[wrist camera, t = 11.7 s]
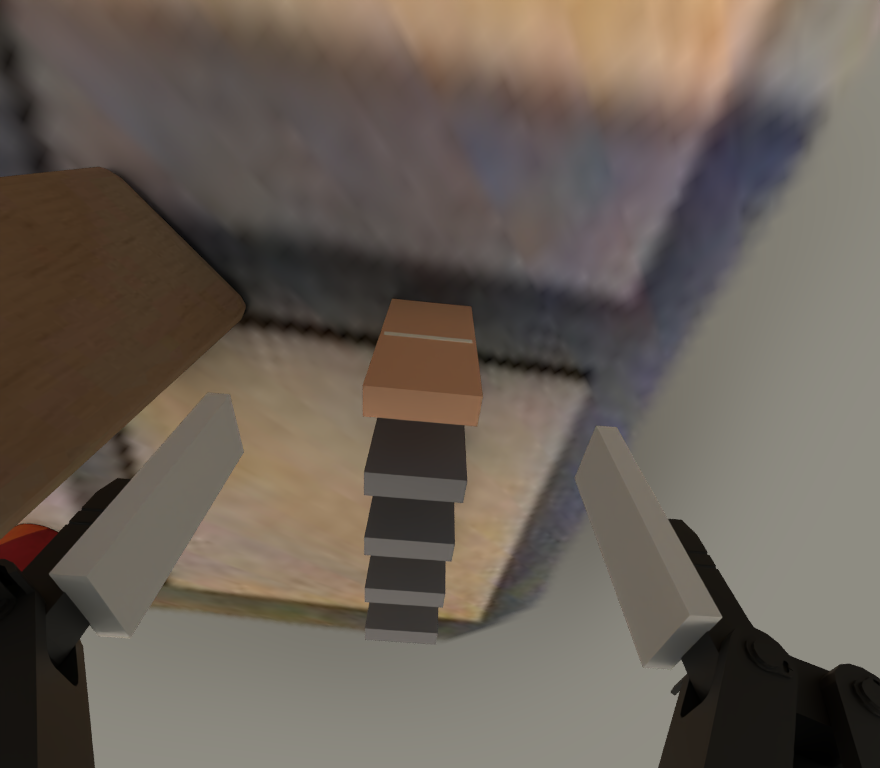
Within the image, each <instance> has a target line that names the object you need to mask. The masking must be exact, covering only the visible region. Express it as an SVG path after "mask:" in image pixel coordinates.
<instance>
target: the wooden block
mask: <svg viewBox="0 0 880 768" xmlns="http://www.w3.org/2000/svg"><path fill="white" fill-rule="evenodd" d="M245 308H246V304H245V303H244V301H243V299H242V297H241V296H240V295H239V294H238V293H237V292H236V291H235V290H234V289H233V288H232V287H231V286H230V285H229V284H228V283H227V282H226V281H225V280H224V279H223V278H222V277H221V276H220V275H219V274H218V273H217V272H216V271H215V270H214V269H213V268H212V267H211V266H210V265H209V264H208V263H207V262H206V261H205V260H204V259H203V258H202V257H201V256H200V255H199V254H198V253H197V252H196V251H195V250H194V249H193V248H192V247H191V246H190V245H189V244H188V243H187V242H186V241H185V240H184V239H183V238H182V237H181V236H180V235H179V234H178V233H177V232H175V231H174V230H173V229H172V228H171V227H170V226H169V225H168V224H167V223H166V222H165V221H164V220H163V219H162V218H161V217H160V216H159V215H158V214H157V213H156V212H155V211H154V210H153V209H152V208H151V207H150V206H149V205H148V204H147V203H146V202H145V201H144V200H143V199H142V198H141V197H140V196H139V195H138V194H137V193H136V192H135V191H134V190H133V189H132V188H131V187H130V186H129V185H128V184H127V183H126V182H125V181H124V180H123V179H122V178H121V177H119V176H117V175H116V174H114V173H113V172H111V171H109V170H107V169H104V168H101V167H92V168H82V169H73V170H63V171H54V172H45V173H35V174H26V175H16V176H7V177H0V540H1V539H2V538H3V537H4V536H5V535H6V534H7V533H8V532H9V531H10V530H12V529H13V528H14V527H15V526H16V525H17V524H18V523H19V522H20V521H21V520H22V519H24V518H25V517H26V516H27V515H28V514H29V513H30V512H31V511H32V510H33V509H35V508H36V507H37V506H38V505H39V504H40V503H41V502H42V501H43V500H44V499H45V498H47V497H48V496H49V495H50V494H51V493H52V492H53V491H54V490H55V489H56V488H57V487H59V486H60V485H61V484H62V483H63V482H64V481H65V480H66V479H67V478H68V477H70V476H71V475H72V474H73V473H74V472H75V471H76V470H77V469H78V468H79V467H80V466H82V465H83V464H84V463H85V462H86V461H87V460H88V459H89V458H90V457H91V456H92V455H94V454H95V453H96V452H97V451H98V450H99V449H100V448H101V447H102V446H103V445H105V444H106V443H107V442H108V441H109V440H110V439H111V438H112V437H113V436H114V435H115V434H117V433H118V432H119V431H120V430H121V429H122V428H123V427H124V426H125V425H126V424H127V423H129V422H130V421H131V420H132V419H133V418H134V417H135V416H136V415H137V414H138V413H139V412H141V411H142V410H143V409H144V408H145V407H146V406H147V405H148V404H149V403H150V402H152V401H153V400H154V399H155V398H156V397H157V396H158V395H159V394H160V393H161V392H162V391H164V390H165V389H166V388H167V387H168V386H169V385H170V384H171V383H172V382H173V381H174V380H176V379H177V378H178V377H179V376H180V375H181V374H182V373H183V372H184V371H185V370H187V369H188V368H189V367H190V366H191V365H192V364H193V363H194V362H195V361H196V360H197V359H199V358H200V357H201V356H202V355H203V354H204V353H205V352H206V351H207V350H208V349H209V348H211V347H212V346H213V345H214V344H215V343H216V342H217V341H218V340H219V339H220V338H222V337H223V336H224V335H225V334H226V333H227V332H228V331H229V330H230V329H231V328H232V327H234V326H235V325H236V324H237V323H238V322H239V321H240V320H241V319H242V316H243V314H244V311H245Z"/></svg>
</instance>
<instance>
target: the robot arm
mask: <svg viewBox="0 0 880 768" xmlns="http://www.w3.org/2000/svg"><path fill="white" fill-rule="evenodd" d="M243 453H244V450H243V446H242V442H241V438H240V434H239V430H238V426H237V422H236V417H235V413H234V409H233V405H232V401H231V397H230V394H219V393H207V394H206V395H205V396H204V397H203V398H202V400H201V401H200V402H199V403H198V404H197V405H196V406H195V407H194V409H193V410H192V411H191V412H190V413H189V414H188V415H187V417H186V418H185V419H184V420H183V421H182V422H181V423H180V425H179V426H178V427H177V428H176V429H175V430H174V431H173V433H172V434H171V435H170V436H169V437H168V438H167V439H166V441H165V442H164V443H163V444H162V445H161V446H160V447H159V449H158V450H157V451H156V452H155V453H154V454H153V455H152V457H151V458H150V459H149V460H148V461H147V462H146V463H145V465H144V466H143V467H142V468H141V469H140V470H139V471H138V473H137V474H136V475H135V476H134V477H133V478H132V479H121V478H117V479H116V480H114V481H113V482H111V483H109V484H108V485H106V486H105V487H103V488H102V489H100V490H99V491H97V492H96V493H95V494H94V495H93V496H92V497H91V499H90V500H89V501H88V502H87V503H86V504H85V505H84V506H83V507H82V510H81V511H78V512H77V513H76V514H75V516H74V517H73V518H72V519H71V520H70V521H69V524H68V525H65V526H64V527H63V528H62V529H61V530H60V531H59V533H58V534H57V535H56V536H55V537H54V538H53V539H52V540H51V541H50V542H49V543H48V544H47V545H46V546H45V547H44V549H43V550H42V551H41V552H40V553H39V554H38V555H37V556H36V557H35V558H34V559H33V560H32V561H31V562H30V563H29V564H28V566H27V567H26V568H25V569H24V570H23V571H22V572H21V571H20V570H19V568H18V567H17V566H16V565H15V564H14V563H13V562H11V561H8V560H6V559H0V768H95V765H94V754H93V745H92V734H91V723H90V713H89V703H88V692H87V682H86V672H85V662H84V652H83V645H82V643H81V641H80V638H81V636H82V635H83V633H84V632H85V630H86V629H87V628H88V626H89V625H90V626H91V627H92V629H93V630H94V631H95V632H96V634H97V635H98V636H102V637H119V638H131V636H132V635H133V633H134V632H135V630H136V628H137V627H138V625H139V623H140V622H141V620H142V618H143V617H144V615H145V613H146V612H147V610H148V609H149V607H150V605H151V604H152V602H153V600H154V599H155V597H156V595H157V594H158V592H159V590H160V589H161V587H162V586H163V584H164V582H165V581H166V579H167V577H168V576H169V574H170V572H171V571H172V569H173V568H174V566H175V564H176V563H177V561H178V559H179V558H180V556H181V554H182V553H183V551H184V549H185V548H186V546H187V545H188V543H189V541H190V540H191V538H192V536H193V535H194V533H195V531H196V530H197V528H198V526H199V525H200V523H201V522H202V520H203V518H204V517H205V515H206V513H207V512H208V510H209V508H210V507H211V505H212V504H213V502H214V500H215V499H216V497H217V495H218V494H219V492H220V490H221V489H222V487H223V485H224V484H225V482H226V481H227V479H228V477H229V476H230V474H231V472H232V471H233V469H234V467H235V466H236V464H237V463H238V461H239V459H240V458H241V456H242V454H243ZM575 481H576V484H577V486H578V489H579V492H580V495H581V497H582V500H583V503H584V506H585V508H586V511H587V514H588V517H589V520H590V522H591V525H592V528H593V531H594V533H595V536H596V539H597V541H598V544H599V547H600V550H601V553H602V556H603V558H604V561H605V564H606V567H607V569H608V572H609V575H610V578H611V581H612V583H613V586H614V589H615V591H616V594H617V597H618V600H619V603H620V606H621V608H622V611H623V614H624V616H625V619H626V622H627V625H628V628H629V631H630V633H631V636H632V639H633V641H634V644H635V647H636V650H637V653H638V655H639V658H640V661H641V663H642V666H643V668H655V669H672V668H673V667H674V666H675V665H676V664H677V663H678V662H679V661H680V660H682V662H683V664H684V666H685V669H686V671H687V674H686V675H685V676H684V677H683V678H682V679H681V680H680V681H679V682H678V683H677V684H676V685H675V686H674V687H673V689H672V690H671V693H672V694H673V695H676V694H677V693H678V692H679V691H680V692H679V696H678V700H677V703H676V707H675V711H674V714H673V717H672V721H671V724H670V728H669V732H668V735H667V739H666V742H665V746H664V749H663V753H662V756H661V760H660V763H659V767H658V768H880V679H879V678H878V677H877V676H875V675H874V674H872V673H870V672H868V671H867V670H865V669H863V668H861V667H858V666H855V665H852V664H841V665H838V666H837V667H835V668H834V669H832V670H831V671H828V670H825V669H823V668H820V667H817V666H815V665H812V664H810V663H807V662H804V661H802V660H799V659H797V658H794V657H792V656H790V655H788V653H787V652H786V651H785V650H784V649H783V648H782V646H781V645H780V644H779V643H778V642H776V641H775V640H774V639H773V638H771V637H770V636H769V635H768V634H766V633H764V632H762V631H760V630H758V629H756V628H754V627H753V625H752V624H751V622H750V621H749V620H748V618H747V617H746V615H745V613H744V611H743V610H742V608H741V606H740V605H739V603H738V601H737V600H736V598H735V597H734V595H733V593H732V592H731V590H730V588H729V587H728V585H727V584H726V582H725V580H724V578H723V577H722V575H721V574H720V572H719V570H718V569H716V567H715V566H716V565H715V564H714V562H713V560H712V559H711V557H710V555H707V551H706V549H705V547H704V546H703V544H702V542H701V541H700V539H699V537H698V536H697V534H696V533H695V532H693V530H692V529H690V528H689V527H688V526H687V525H686V524H685V523H684V522H683V521H682V520H677V519H667V517H666V515H665V513H664V512H663V510H662V508H661V506H660V504H659V503H658V501H657V499H656V497H655V495H654V494H653V492H652V490H651V488H650V486H649V484H648V483H647V481H646V479H645V477H644V476H643V474H642V472H641V470H640V468H639V467H638V465H637V463H636V461H635V459H634V458H633V456H632V454H631V452H630V450H629V449H628V447H627V445H626V443H625V441H624V440H623V438H622V436H621V434H620V432H619V431H618V429H617V427H605V426H596V428H595V430H594V432H593V435H592V437H591V440H590V442H589V445H588V447H587V449H586V452H585V454H584V457H583V459H582V462H581V464H580V466H579V469H578V471H577V474H576V476H575Z"/></svg>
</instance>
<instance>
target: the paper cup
mask: <svg viewBox="0 0 880 768" xmlns="http://www.w3.org/2000/svg"><path fill="white" fill-rule="evenodd" d="M57 534H58V532H56V531H54V530H52V529H50V528H47V527H44V526H40V525H35V524H20V525H17V526H15V527H14V528H13V529H12V530H10V531H9V532H8V533H7V534H6V535H5V536H4V537H3V538H2V539H1V540H0V559H6V560H8V561H11V562H13V563H14V564H15V565H16V566H17V567H18V568H19V570H20V571H21V572H22V571H23V570H24V569H25V568H26V567H27V566H28V564H29V563H30V562H31V561H32V560H33V559H34V558H35V557H36V556H37V555H38V554H39V553H40V552H41V551H42V550H43V549H44V547H45V546H46V545H47V544H48V543H49V542H50V541H51V540H52V539H53V538H54V537H55V536H56V535H57Z"/></svg>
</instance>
